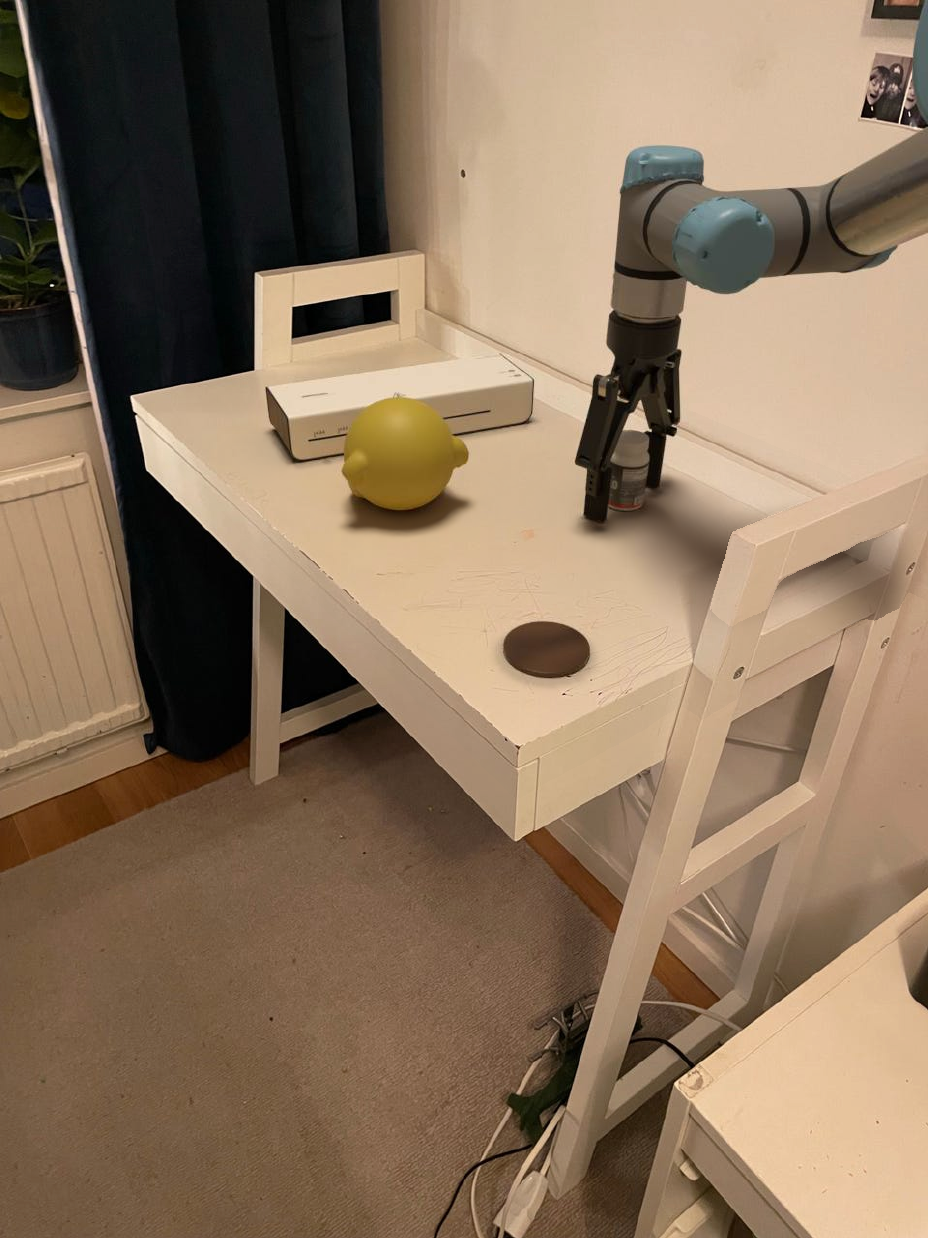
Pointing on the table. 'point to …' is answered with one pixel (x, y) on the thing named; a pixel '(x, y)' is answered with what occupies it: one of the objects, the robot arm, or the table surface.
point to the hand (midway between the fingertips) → (622, 500)
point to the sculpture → (400, 454)
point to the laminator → (452, 388)
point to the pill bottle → (629, 471)
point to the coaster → (546, 649)
